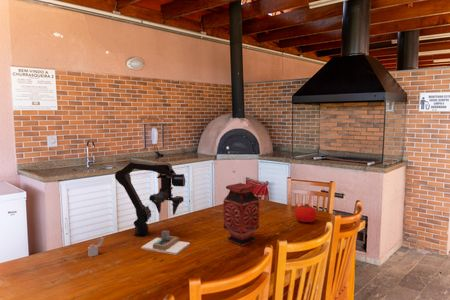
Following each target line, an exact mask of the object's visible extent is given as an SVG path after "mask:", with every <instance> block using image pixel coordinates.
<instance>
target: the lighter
mask: <svg viewBox="0 0 450 300" xmlns="http://www.w3.org/2000/svg"><path fill="white" fill-rule="evenodd" d="M104 240H105V238H104V237H102V236H100V238H99V239H98V242H97V244H90V245H89V246H88V247H87V253H88V254H87V255H88V257H89V258H91V257H95V256H98V255H99V248H101V246H102V244H103V242H104Z"/></svg>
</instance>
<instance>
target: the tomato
mask: <svg viewBox="0 0 450 300" xmlns="http://www.w3.org/2000/svg"><path fill="white" fill-rule="evenodd" d="M293 214H294V217H295V219H296V220H297V221H299V222H302V223H307V222H309V223H312V222H314V221H315V219H316V216H317V215H316V214H317V213H316V210H315V209H314V207H312V206H310V205H307V204H303V205H299V206H297V207H296V208H295V209H294V212H293Z"/></svg>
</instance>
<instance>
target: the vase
mask: <svg viewBox="0 0 450 300" xmlns="http://www.w3.org/2000/svg"><path fill="white" fill-rule="evenodd" d="M225 189H226V190H229V192H228V194H227V195H226V196H225V197H224V198H223V209H222V211H223V212H222V213H223V215H222V217H223V228H224V229H225V230H226V231H227V232H228V233H229V234H230V236H229V237H228V238H227V241H228V242H230V243H232V242H233V243H232V244H235V245H238V246H240V247H243V246H245V245H248V244H250V243H254V242H255V241H256V237H254V236H253V234H254V232H255V231H256V230H258V229H259V228H260V199H259V198H258V197H257V196H256V195H255V194H254V192H253V191H252V190H254V189H256V186H255V185H253V184H252V185H251V184H246V183H242V182H239V183H234V184H229V185H226V186H225Z"/></svg>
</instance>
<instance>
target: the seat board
mask: <svg viewBox="0 0 450 300" xmlns="http://www.w3.org/2000/svg"><path fill="white" fill-rule="evenodd" d="M160 239H161V237H155V238H154V239H152V240H151V241H149V242H147V243H146V244H144V245H143V246H141V249H142V250H146V251H151V252H158V253H163V254H169V255H174V256H177V255H178V254H180V253H181V252H183V251H184V250H185V249H186V248H188V247H189V246H190V245H191V243H190V242H188V241H181V240H179V237H178V236H172V235H170V241H169V242H168V243H166V244H165V245H162V244H161V245H160V244H154V243H155V242H157V241H158V240H160Z"/></svg>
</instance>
